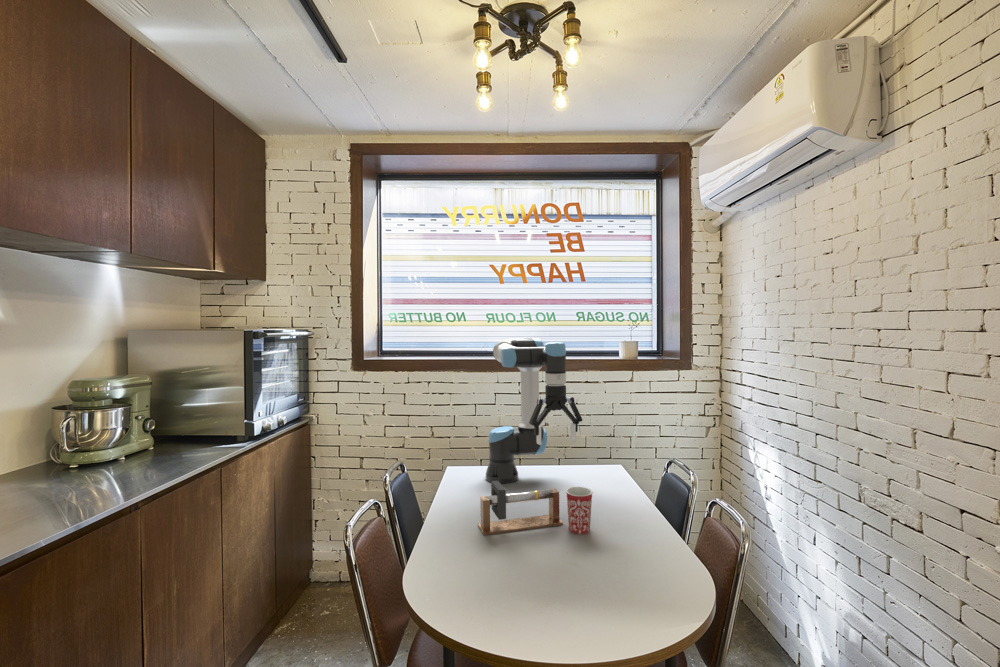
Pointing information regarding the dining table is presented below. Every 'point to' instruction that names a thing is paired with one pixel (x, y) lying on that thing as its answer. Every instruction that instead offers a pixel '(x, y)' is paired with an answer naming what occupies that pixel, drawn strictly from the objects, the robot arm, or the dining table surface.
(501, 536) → the dining table surface
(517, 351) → the robot arm
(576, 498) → the mug
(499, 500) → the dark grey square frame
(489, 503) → the pipe rig
